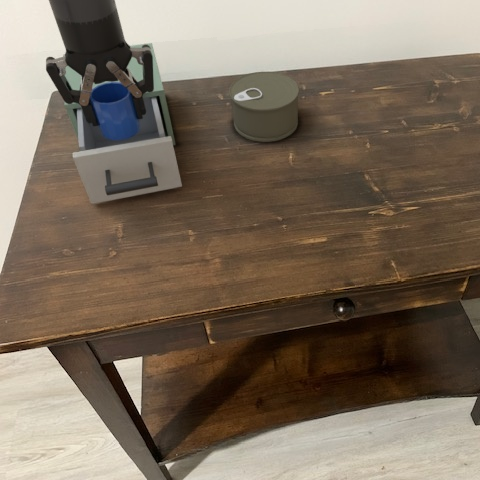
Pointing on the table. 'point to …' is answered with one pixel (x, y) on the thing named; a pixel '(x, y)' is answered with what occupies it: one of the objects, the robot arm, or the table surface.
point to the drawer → (126, 159)
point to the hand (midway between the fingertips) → (118, 119)
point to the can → (265, 106)
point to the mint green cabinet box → (136, 71)
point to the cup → (114, 111)
